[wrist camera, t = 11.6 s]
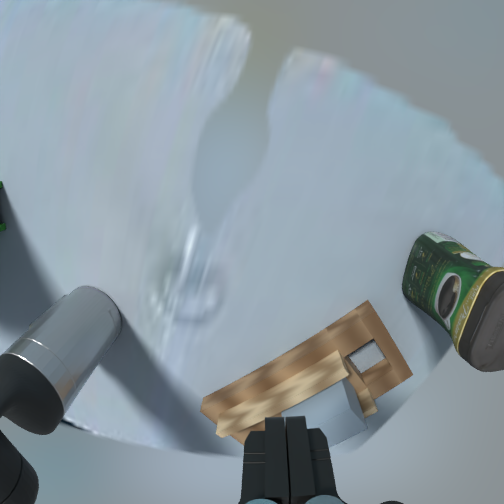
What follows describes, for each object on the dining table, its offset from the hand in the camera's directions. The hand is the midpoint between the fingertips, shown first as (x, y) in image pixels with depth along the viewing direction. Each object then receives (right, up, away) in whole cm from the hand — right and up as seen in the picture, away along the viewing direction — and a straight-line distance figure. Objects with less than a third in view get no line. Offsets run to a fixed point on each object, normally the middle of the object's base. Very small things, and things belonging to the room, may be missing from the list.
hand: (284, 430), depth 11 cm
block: (+8, -13, +29) cm, 32 cm away
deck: (+7, -13, +32) cm, 35 cm away
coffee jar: (+22, +5, +26) cm, 35 cm away
